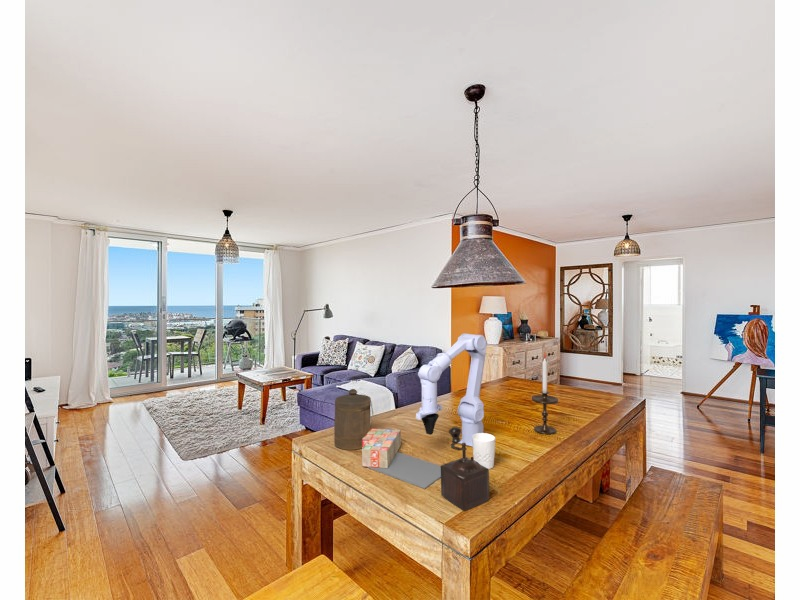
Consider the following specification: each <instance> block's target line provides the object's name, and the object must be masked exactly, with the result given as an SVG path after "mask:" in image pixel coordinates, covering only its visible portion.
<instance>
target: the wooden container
mask: <svg viewBox="0 0 800 600" xmlns="http://www.w3.org/2000/svg"><path fill="white" fill-rule="evenodd" d="M371 406H372V401H371V397H370V396H368V395H366V394H360V393H359V394H358V390H357V389H356V388H351V389H349V390H348V394H345V395H340V396H337V397H336V398H335V399H334V421H333V422H334V425H333V426H334V431H333V432H334V437H333V438H334V446H335V447H336V448H338V449H341V450H346V451H353V450H354V451H355V450H362V439H363V438H364V437H365V436H366V435H367V433H368V432H369V431H370V430H371V429H372V419H371V418H372V417H371V415H372V414H371V412H372V411H371V410H372V409H371Z"/></svg>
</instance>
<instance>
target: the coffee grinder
mask: <svg viewBox="0 0 800 600" xmlns="http://www.w3.org/2000/svg"><path fill="white" fill-rule="evenodd" d="M448 433H449V435H450V436H451V438H452V440H451V442H452V443H451V444H450V448H451V449H452V450H455V451H461V452H462V457H460V458H457V459H455V460H452V461H449V462H447V463H443V464H441V465H440V466H441V478H440V491H441V492H440V493H441V494H440V495H441V497H442V498H443V499H444V500H446V501H448V502H450V504H453V506H455V507H456V508H459V509H460V510H461V511H463V512H465V511H469V510H471V509H473V508H475V507H478V506H480V505H482V504H485V503H487V502H489V500H490V474H489V473H490V472H489V471H490V469H488V468H486V467H484V466H482V465H480V464H479V463H478V462H477V461H475V460H474V456H471V457H470V458H468V457H466V456H467V455H466V451H467V447H466V446H467V445H466V443H464V442H463V443H462V444H461V447H458V446H456V445H458V444H459V443H458V442H460V441H461V439H460V436H461V435H462V428H460V427H458V426H453V427H451V428H450V429H449V431H448Z"/></svg>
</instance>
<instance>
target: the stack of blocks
mask: <svg viewBox="0 0 800 600" xmlns="http://www.w3.org/2000/svg"><path fill="white" fill-rule="evenodd" d="M401 439H402V437H401V429H395V428H391V429H388V428H371V430H370V431H369V432H368V433H367V435H366V436H365V437H364V438H363V439H362V448H361V455H362V456H361V457H362V458H361V459H362V461H361V462H362V464H361V465H362V467H367V468H368V467H376V468H388V467H389V465H390V463H391V461H392V459H393V458H394V456H395V454H396V453H397V452H399V449H400V447H401V445H402V440H401Z"/></svg>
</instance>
